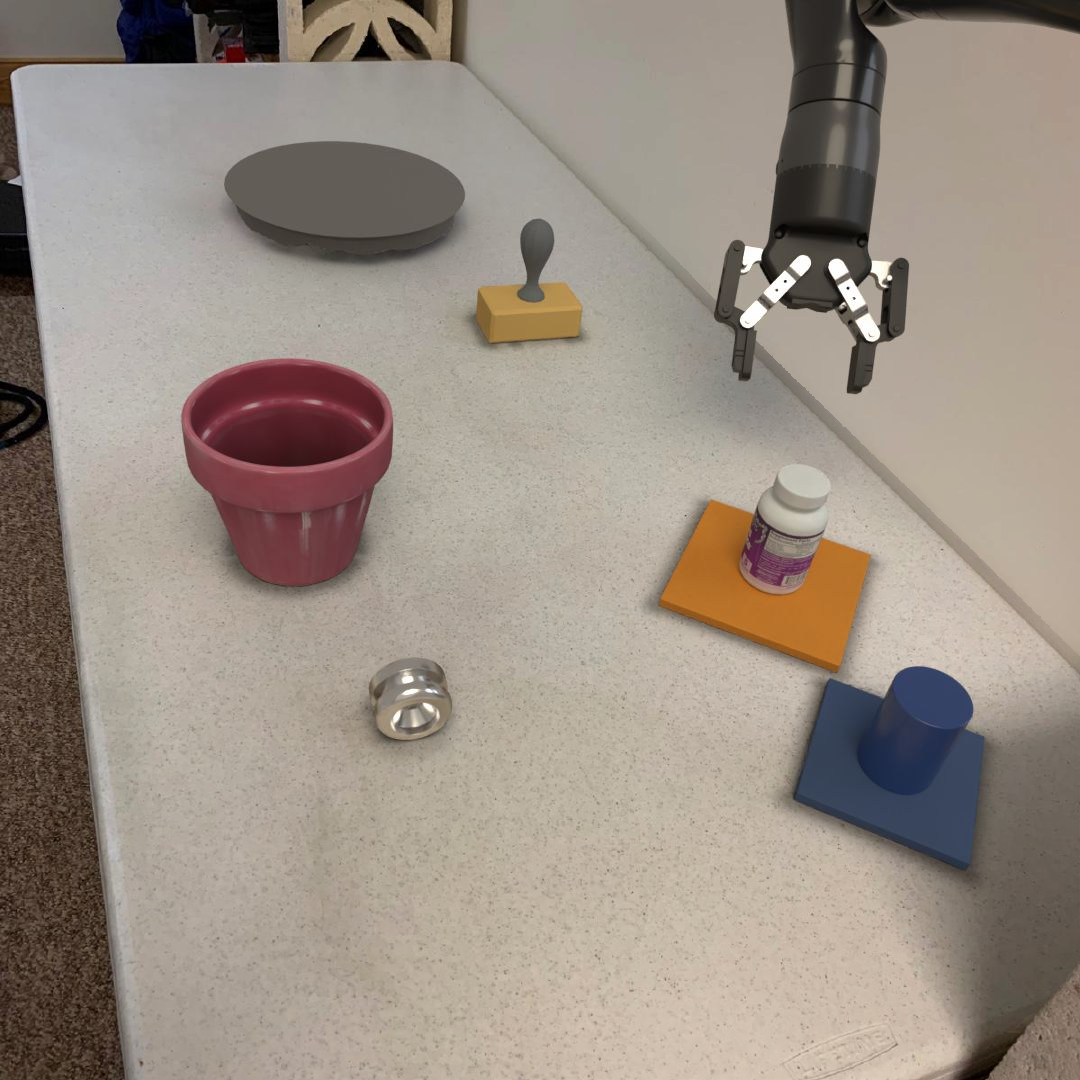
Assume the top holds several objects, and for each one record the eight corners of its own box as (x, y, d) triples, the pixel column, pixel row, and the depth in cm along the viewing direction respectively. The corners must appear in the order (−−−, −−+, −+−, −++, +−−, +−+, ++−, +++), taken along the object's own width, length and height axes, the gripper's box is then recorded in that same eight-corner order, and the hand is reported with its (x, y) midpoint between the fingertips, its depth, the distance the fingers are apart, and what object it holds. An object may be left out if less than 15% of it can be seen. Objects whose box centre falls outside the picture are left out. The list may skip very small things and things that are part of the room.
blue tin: (936, 750, 67) (977, 683, 63) (927, 807, 64) (970, 740, 59) (863, 722, 69) (898, 654, 64) (851, 776, 65) (887, 708, 60)
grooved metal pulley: (443, 702, 67) (446, 652, 64) (452, 737, 65) (456, 688, 62) (368, 713, 66) (368, 663, 62) (375, 749, 64) (375, 699, 60)
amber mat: (868, 561, 83) (871, 554, 82) (836, 673, 73) (840, 666, 72) (708, 505, 86) (710, 498, 86) (658, 605, 76) (660, 598, 76)
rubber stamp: (561, 311, 110) (576, 206, 102) (579, 338, 106) (595, 231, 98) (474, 317, 107) (482, 209, 99) (489, 345, 103) (499, 234, 95)
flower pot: (382, 484, 84) (383, 352, 75) (401, 603, 74) (404, 465, 65) (204, 493, 80) (184, 356, 72) (198, 618, 70) (174, 476, 62)
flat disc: (229, 276, 107) (224, 237, 104) (226, 173, 127) (223, 138, 124) (482, 273, 114) (485, 237, 111) (442, 176, 134) (444, 143, 131)
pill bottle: (739, 545, 81) (769, 450, 75) (803, 559, 81) (839, 465, 75) (735, 589, 77) (767, 493, 71) (803, 604, 77) (841, 508, 71)
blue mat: (980, 743, 69) (984, 736, 69) (965, 871, 62) (970, 864, 61) (826, 684, 72) (829, 677, 71) (793, 800, 64) (796, 792, 64)
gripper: (741, 150, 73) (713, 369, 74) (935, 170, 73) (906, 391, 73) (727, 184, 81) (702, 382, 81) (903, 202, 80) (877, 402, 81)
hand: (799, 386), depth 77 cm, fingers open, 8 cm apart
